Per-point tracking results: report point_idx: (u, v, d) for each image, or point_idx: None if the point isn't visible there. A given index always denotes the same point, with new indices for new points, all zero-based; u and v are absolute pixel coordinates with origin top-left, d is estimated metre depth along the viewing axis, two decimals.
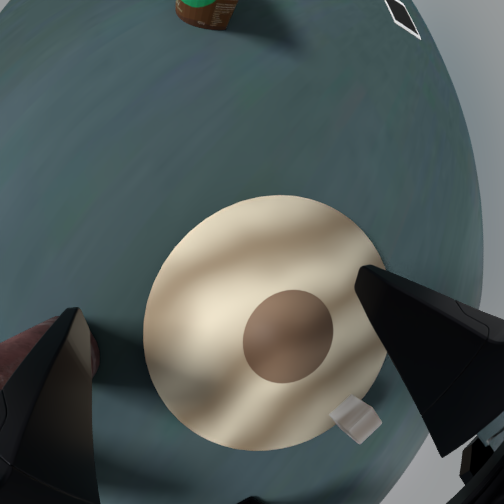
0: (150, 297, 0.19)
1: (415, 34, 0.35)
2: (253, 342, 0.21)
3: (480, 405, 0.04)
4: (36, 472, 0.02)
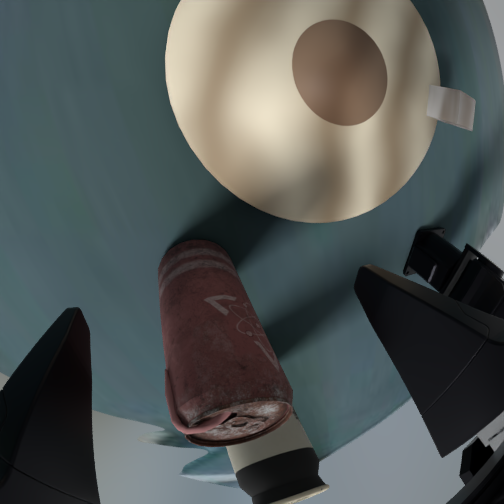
0: (203, 160, 0.16)
1: None
2: (319, 101, 0.16)
3: (480, 405, 0.04)
4: (37, 473, 0.02)
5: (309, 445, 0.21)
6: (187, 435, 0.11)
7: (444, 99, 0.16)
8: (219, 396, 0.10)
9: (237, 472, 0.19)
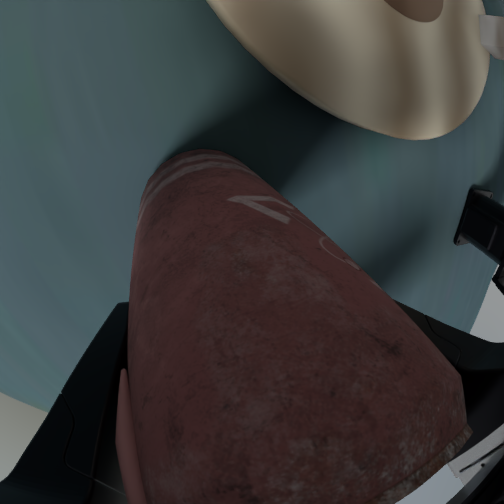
0: (229, 7, 0.07)
1: None
2: None
3: None
4: (113, 481, 0.03)
5: None
6: None
7: (497, 27, 0.07)
8: (333, 483, 0.02)
9: None
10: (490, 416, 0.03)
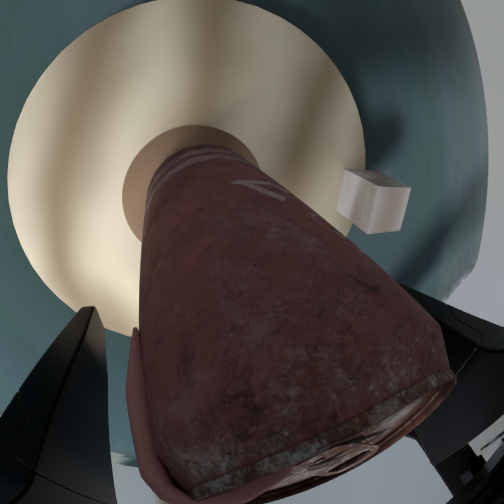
0: (71, 306, 0.16)
1: None
2: None
3: (471, 414, 0.04)
4: (58, 476, 0.02)
5: None
6: None
7: (357, 194, 0.16)
8: (326, 390, 0.02)
9: None
10: None
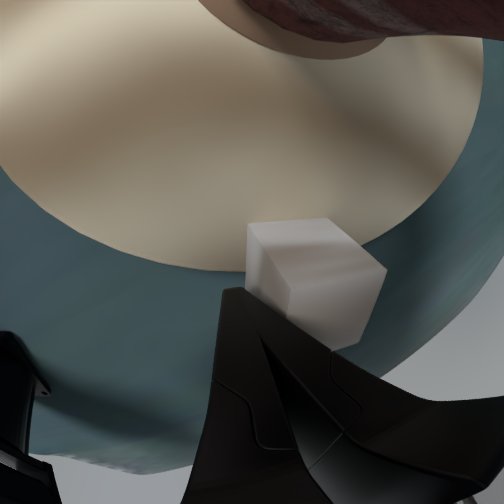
0: None
1: None
2: None
3: None
4: None
5: None
6: None
7: (326, 245, 0.08)
8: None
9: None
10: None
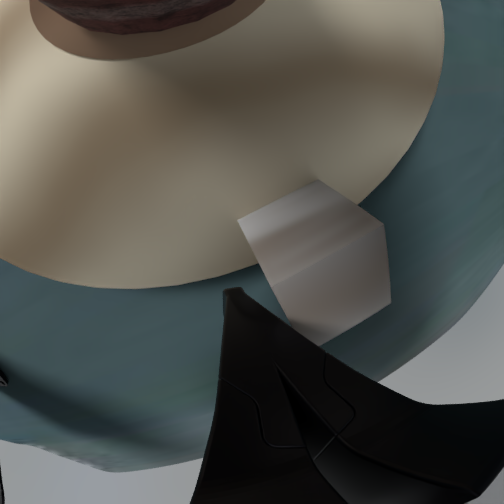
0: None
1: None
2: None
3: None
4: None
5: None
6: None
7: (313, 216, 0.07)
8: None
9: None
10: None
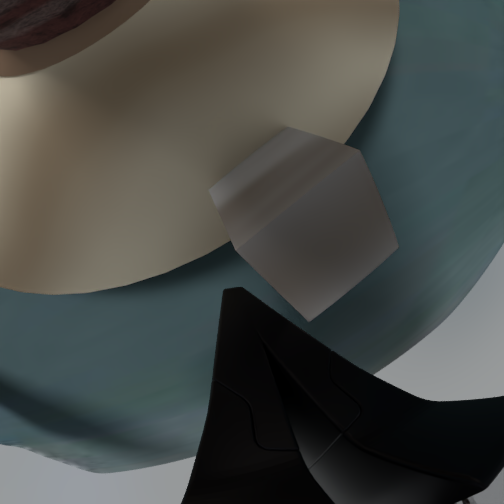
0: None
1: None
2: None
3: None
4: None
5: None
6: None
7: (281, 163, 0.06)
8: None
9: None
10: None
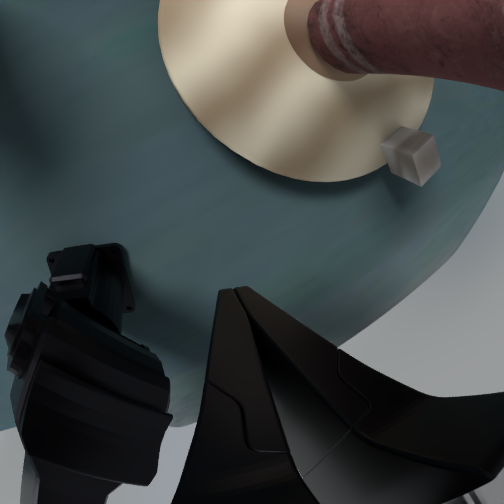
0: None
1: None
2: (296, 21, 0.12)
3: (353, 500, 0.03)
4: None
5: None
6: None
7: (410, 137, 0.17)
8: None
9: None
10: (396, 500, 0.02)
